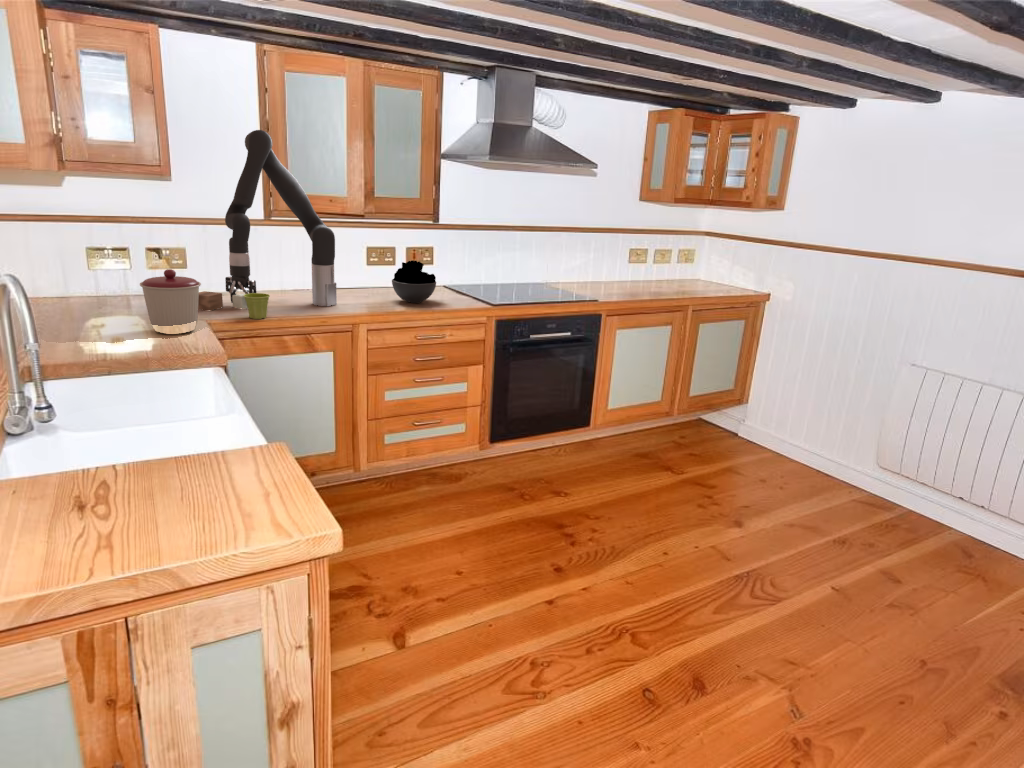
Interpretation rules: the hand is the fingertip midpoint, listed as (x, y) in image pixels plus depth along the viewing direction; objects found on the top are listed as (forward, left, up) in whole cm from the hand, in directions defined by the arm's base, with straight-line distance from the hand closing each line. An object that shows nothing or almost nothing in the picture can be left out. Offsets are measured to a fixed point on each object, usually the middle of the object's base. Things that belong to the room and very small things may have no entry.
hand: (241, 304), depth 264 cm
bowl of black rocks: (-45, -58, -1) cm, 74 cm away
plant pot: (-18, +10, -2) cm, 21 cm away
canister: (-14, +43, -1) cm, 46 cm away
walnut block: (+8, +10, -1) cm, 13 cm away
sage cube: (0, 0, -1) cm, 1 cm away
